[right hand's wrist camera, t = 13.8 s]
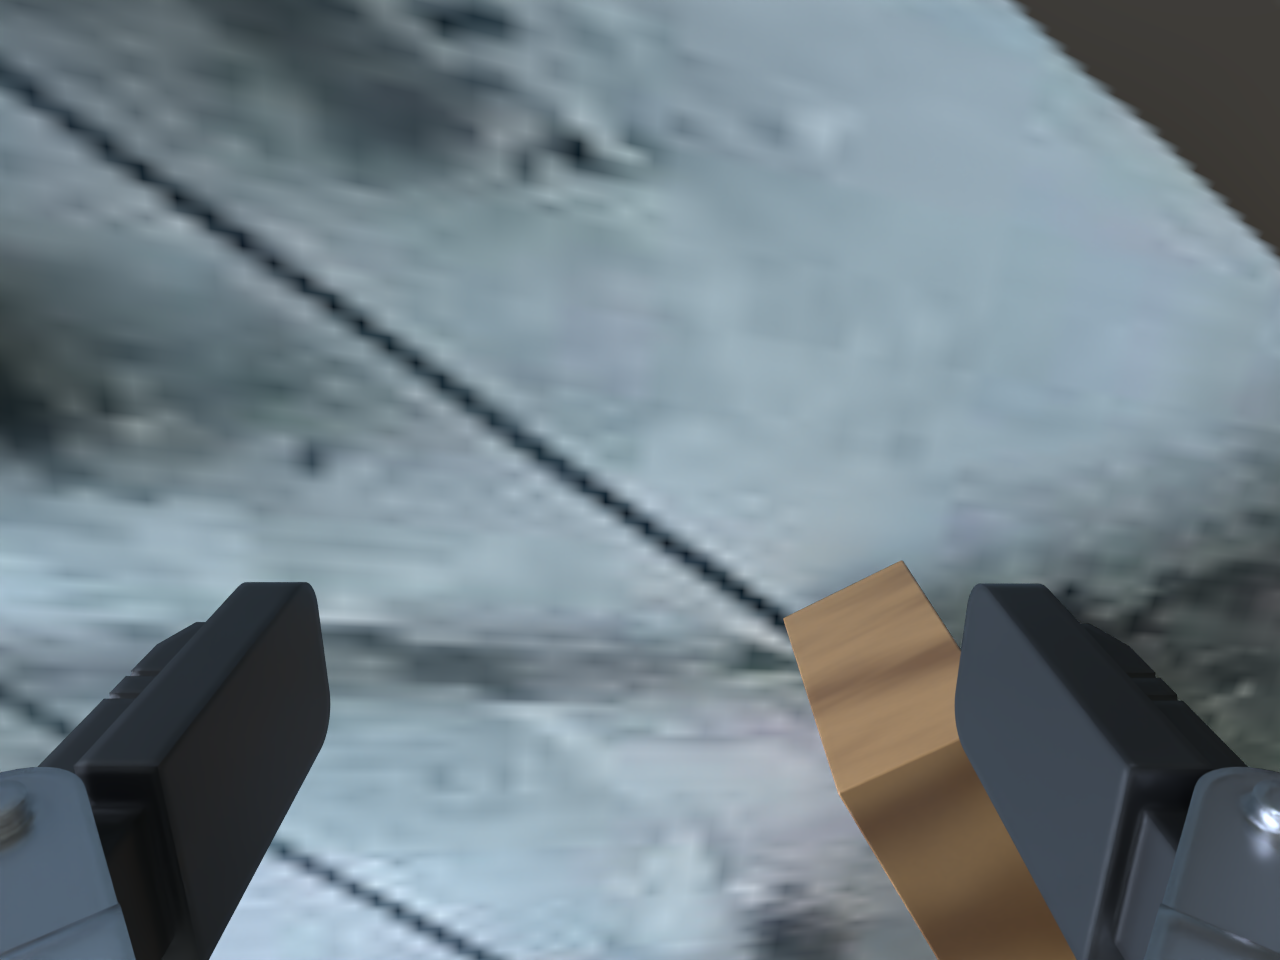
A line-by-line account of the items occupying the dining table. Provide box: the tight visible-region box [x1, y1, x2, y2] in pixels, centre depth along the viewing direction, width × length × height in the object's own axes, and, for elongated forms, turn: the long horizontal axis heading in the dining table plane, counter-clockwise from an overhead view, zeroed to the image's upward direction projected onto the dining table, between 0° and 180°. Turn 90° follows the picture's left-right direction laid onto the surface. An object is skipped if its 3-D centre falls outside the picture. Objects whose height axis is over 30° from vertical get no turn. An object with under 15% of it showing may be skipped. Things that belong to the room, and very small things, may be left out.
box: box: [784, 561, 1076, 960], centre depth 39 cm, size 28×6×12 cm, turn 30°
